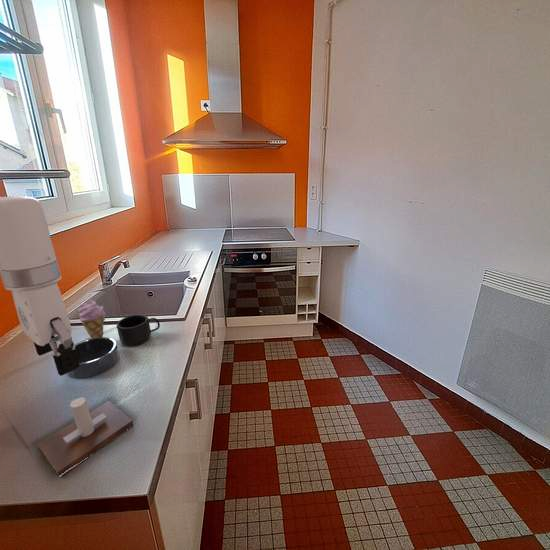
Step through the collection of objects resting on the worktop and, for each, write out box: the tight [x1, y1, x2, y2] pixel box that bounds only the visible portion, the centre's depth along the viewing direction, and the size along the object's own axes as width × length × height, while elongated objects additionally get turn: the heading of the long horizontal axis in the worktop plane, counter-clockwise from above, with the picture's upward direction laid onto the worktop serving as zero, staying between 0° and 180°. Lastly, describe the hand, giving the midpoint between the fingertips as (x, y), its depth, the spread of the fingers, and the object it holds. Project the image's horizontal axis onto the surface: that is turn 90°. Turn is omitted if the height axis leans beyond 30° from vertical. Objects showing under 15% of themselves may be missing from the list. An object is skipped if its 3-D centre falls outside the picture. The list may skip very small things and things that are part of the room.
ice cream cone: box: [77, 299, 107, 339], centre depth 91 cm, size 7×6×15 cm
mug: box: [116, 314, 161, 347], centre depth 95 cm, size 12×9×7 cm
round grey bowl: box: [65, 336, 120, 380], centre depth 83 cm, size 13×13×5 cm
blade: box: [63, 397, 107, 444], centre depth 60 cm, size 8×3×8 cm, turn 144°
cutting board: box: [36, 400, 135, 476], centre depth 61 cm, size 14×10×2 cm
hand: (58, 360), depth 56 cm, fingers open, 9 cm apart
